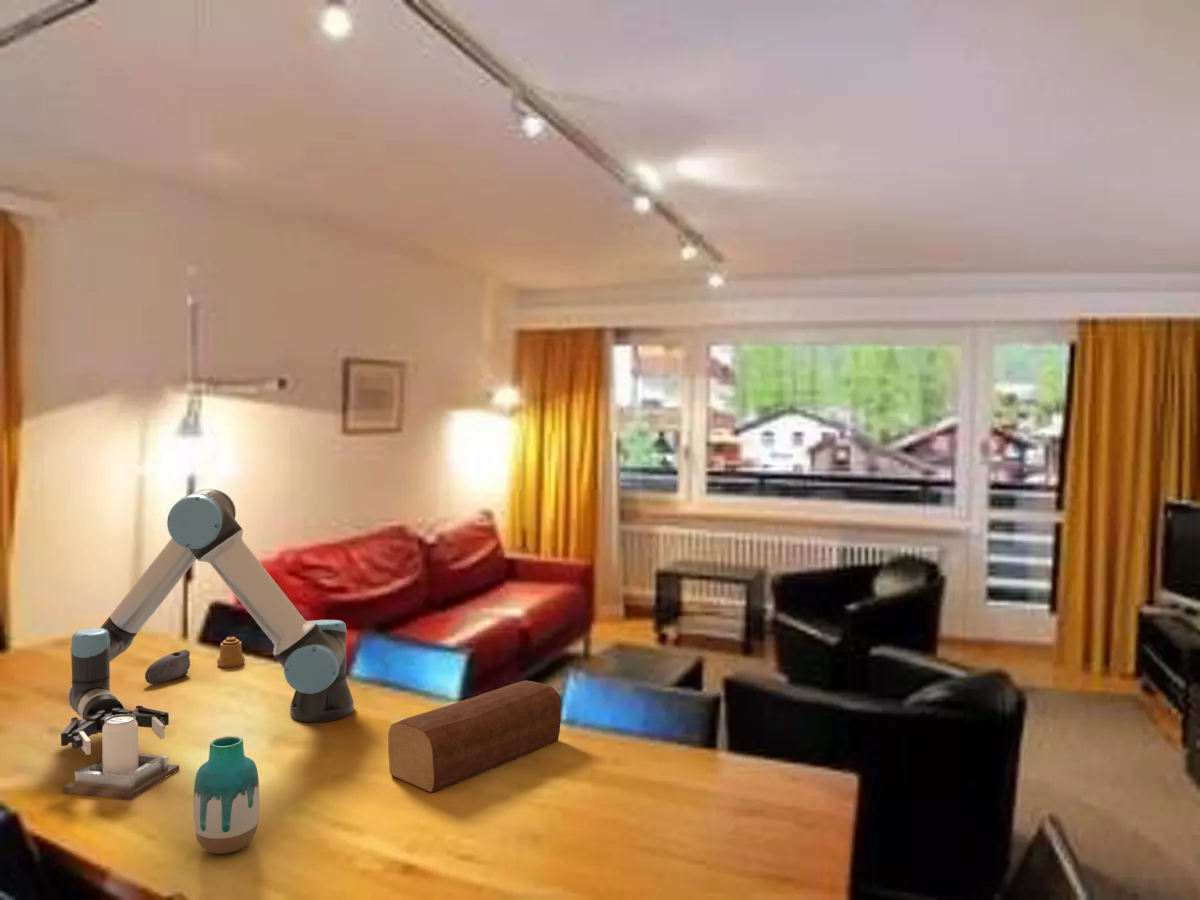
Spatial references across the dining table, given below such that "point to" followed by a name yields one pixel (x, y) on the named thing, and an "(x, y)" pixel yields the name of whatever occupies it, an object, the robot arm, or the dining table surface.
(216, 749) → the vase
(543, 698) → the bread
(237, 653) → the ornamental finial
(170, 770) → the collar base
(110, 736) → the can
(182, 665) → the perforated stone tool
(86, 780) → the grey hollow square frame
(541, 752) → the dining table surface
